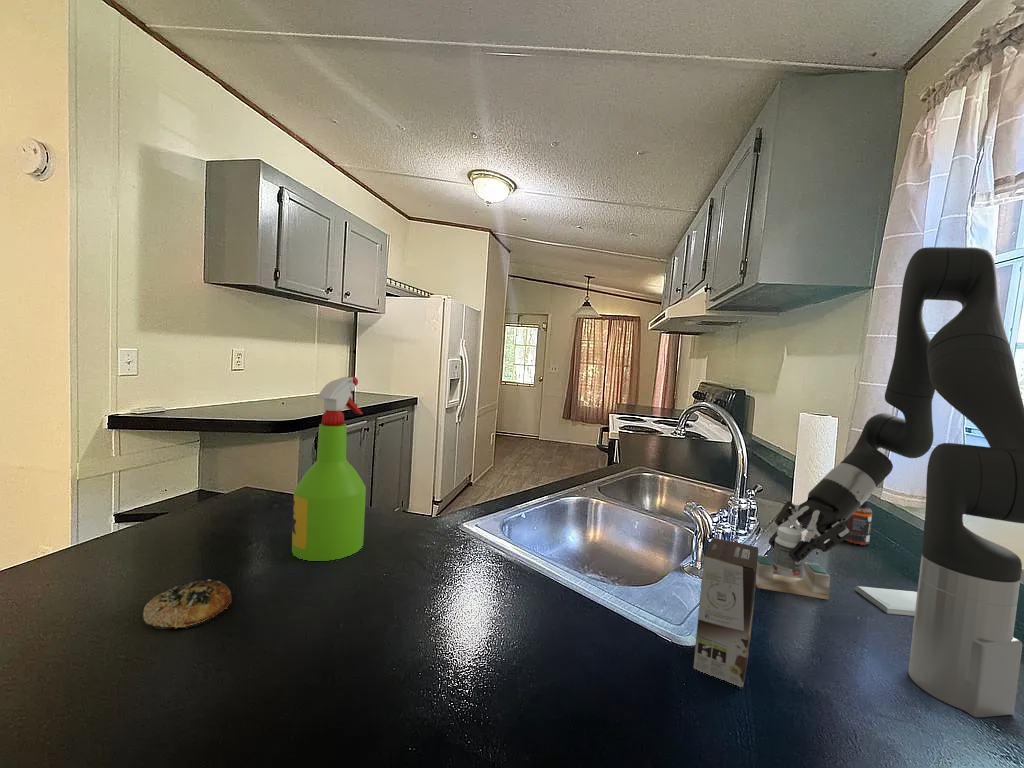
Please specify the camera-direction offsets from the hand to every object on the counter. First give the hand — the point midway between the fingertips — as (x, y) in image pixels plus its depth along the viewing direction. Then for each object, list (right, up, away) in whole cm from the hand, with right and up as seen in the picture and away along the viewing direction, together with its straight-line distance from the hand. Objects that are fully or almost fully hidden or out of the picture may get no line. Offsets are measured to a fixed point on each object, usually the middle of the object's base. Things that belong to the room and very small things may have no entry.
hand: (782, 551), depth 88 cm
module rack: (+1, -7, +1) cm, 7 cm away
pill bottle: (+1, -4, +1) cm, 5 cm away
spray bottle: (-90, -1, +7) cm, 90 cm away
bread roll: (-101, -2, -20) cm, 103 cm away
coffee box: (-23, -7, -24) cm, 34 cm away
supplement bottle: (+35, -8, +28) cm, 45 cm away
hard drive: (+21, -9, -4) cm, 23 cm away
